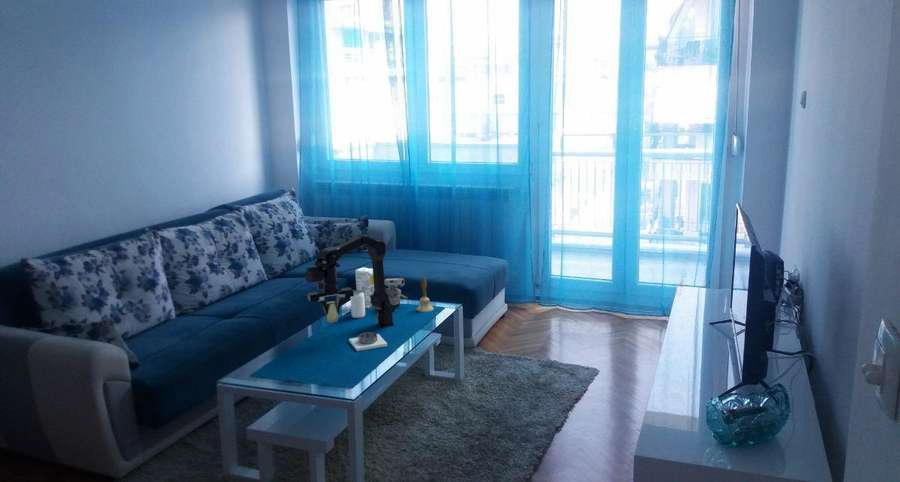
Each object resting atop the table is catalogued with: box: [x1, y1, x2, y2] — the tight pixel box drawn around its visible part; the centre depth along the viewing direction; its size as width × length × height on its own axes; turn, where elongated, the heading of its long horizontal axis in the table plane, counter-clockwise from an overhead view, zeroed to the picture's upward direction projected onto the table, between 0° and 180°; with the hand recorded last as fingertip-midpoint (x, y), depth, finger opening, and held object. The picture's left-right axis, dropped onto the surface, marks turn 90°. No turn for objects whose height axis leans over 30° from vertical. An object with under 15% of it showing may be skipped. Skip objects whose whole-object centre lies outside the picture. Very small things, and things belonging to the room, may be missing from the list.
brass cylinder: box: [326, 300, 339, 323], centre depth 295 cm, size 4×4×8 cm
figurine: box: [384, 277, 410, 307], centre depth 339 cm, size 9×12×15 cm
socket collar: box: [357, 331, 378, 344], centre depth 291 cm, size 8×8×2 cm
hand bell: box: [416, 277, 434, 313], centre depth 335 cm, size 8×8×16 cm
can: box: [349, 289, 366, 319], centre depth 328 cm, size 6×6×12 cm
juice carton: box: [355, 266, 374, 309], centre depth 343 cm, size 8×9×19 cm
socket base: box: [348, 333, 388, 352], centre depth 292 cm, size 13×13×1 cm
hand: (332, 313), depth 295 cm, fingers closed on brass cylinder, 4 cm apart
